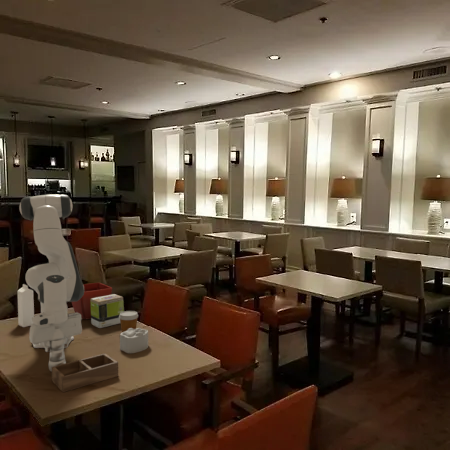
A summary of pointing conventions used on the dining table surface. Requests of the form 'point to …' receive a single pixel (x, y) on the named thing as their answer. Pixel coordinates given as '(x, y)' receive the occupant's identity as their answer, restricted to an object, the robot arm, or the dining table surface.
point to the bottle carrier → (84, 372)
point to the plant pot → (90, 292)
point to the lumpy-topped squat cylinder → (134, 340)
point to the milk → (25, 306)
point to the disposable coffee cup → (128, 320)
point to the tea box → (106, 310)
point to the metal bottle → (57, 349)
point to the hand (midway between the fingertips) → (56, 349)
